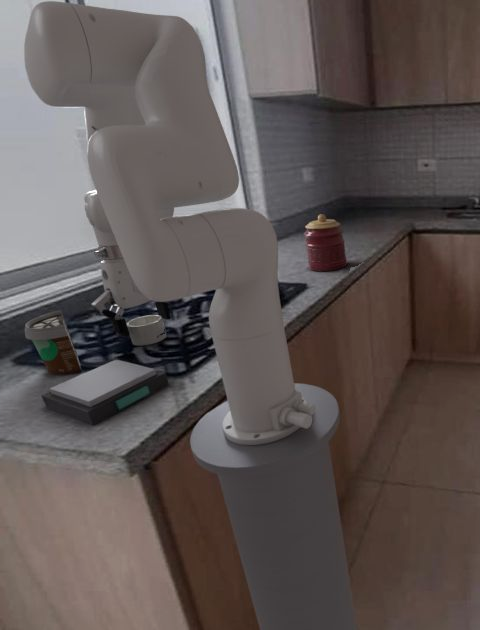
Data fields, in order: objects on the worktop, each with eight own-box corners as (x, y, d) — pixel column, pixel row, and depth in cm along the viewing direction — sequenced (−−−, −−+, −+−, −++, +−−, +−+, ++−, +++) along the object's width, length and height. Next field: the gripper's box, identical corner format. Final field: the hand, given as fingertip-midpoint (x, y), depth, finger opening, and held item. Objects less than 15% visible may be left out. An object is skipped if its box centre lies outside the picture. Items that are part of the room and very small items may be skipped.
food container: (40, 363, 90) (21, 317, 86) (77, 353, 93) (60, 309, 90) (41, 385, 81) (20, 335, 77) (82, 373, 84) (64, 325, 81)
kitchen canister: (309, 263, 156) (302, 213, 149) (346, 260, 157) (341, 210, 151) (307, 273, 144) (299, 218, 137) (347, 269, 146) (341, 215, 139)
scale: (171, 385, 78) (166, 368, 77) (95, 426, 67) (87, 407, 66) (123, 372, 84) (118, 356, 83) (46, 408, 73) (38, 390, 72)
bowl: (173, 335, 100) (168, 316, 98) (145, 347, 94) (139, 328, 93) (153, 331, 103) (148, 313, 101) (125, 343, 97) (119, 324, 96)
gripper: (90, 263, 83) (117, 345, 89) (172, 243, 97) (190, 314, 103) (67, 260, 86) (94, 339, 92) (150, 241, 100) (169, 310, 107)
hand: (145, 326), depth 98 cm, fingers open, 9 cm apart
